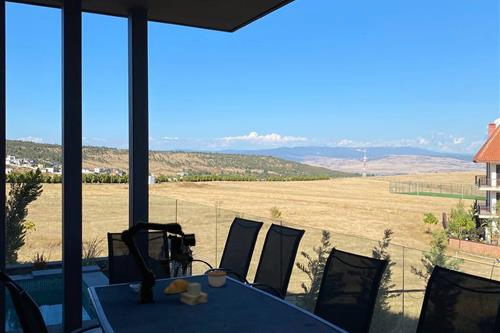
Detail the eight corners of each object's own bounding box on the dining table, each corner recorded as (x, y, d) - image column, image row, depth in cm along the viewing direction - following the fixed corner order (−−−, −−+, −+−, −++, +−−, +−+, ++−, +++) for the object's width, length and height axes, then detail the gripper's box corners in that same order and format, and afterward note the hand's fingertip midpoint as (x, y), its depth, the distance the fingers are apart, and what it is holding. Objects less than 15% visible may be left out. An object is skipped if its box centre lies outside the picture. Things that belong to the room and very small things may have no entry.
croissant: (168, 302, 252) (173, 290, 249) (156, 291, 257) (161, 279, 254) (194, 293, 269) (199, 281, 267) (182, 282, 274) (187, 271, 272)
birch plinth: (190, 305, 234) (190, 297, 234) (180, 300, 241) (180, 293, 241) (207, 302, 240) (207, 294, 240) (197, 297, 248) (197, 290, 248)
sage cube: (192, 295, 237) (192, 285, 237) (187, 293, 241) (187, 283, 241) (200, 294, 240) (200, 284, 240) (195, 292, 244) (195, 282, 244)
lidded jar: (207, 284, 278) (207, 268, 278) (224, 283, 280) (225, 267, 280) (208, 288, 267) (208, 272, 268) (227, 287, 269) (227, 271, 269)
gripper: (167, 250, 232) (166, 282, 232) (199, 247, 244) (198, 277, 243) (156, 247, 241) (156, 278, 241) (188, 244, 252) (187, 273, 252)
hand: (175, 276), depth 244 cm, fingers open, 9 cm apart
